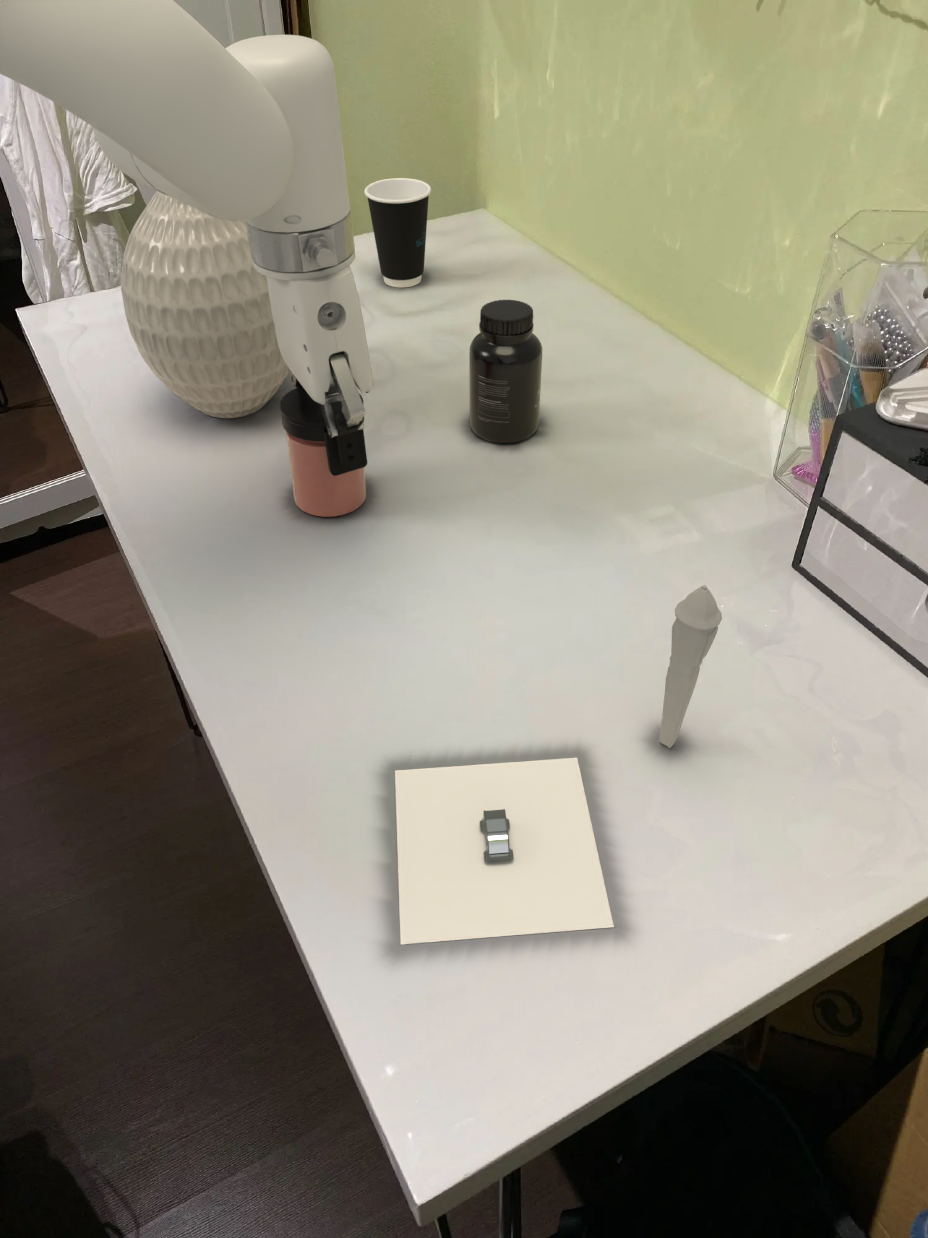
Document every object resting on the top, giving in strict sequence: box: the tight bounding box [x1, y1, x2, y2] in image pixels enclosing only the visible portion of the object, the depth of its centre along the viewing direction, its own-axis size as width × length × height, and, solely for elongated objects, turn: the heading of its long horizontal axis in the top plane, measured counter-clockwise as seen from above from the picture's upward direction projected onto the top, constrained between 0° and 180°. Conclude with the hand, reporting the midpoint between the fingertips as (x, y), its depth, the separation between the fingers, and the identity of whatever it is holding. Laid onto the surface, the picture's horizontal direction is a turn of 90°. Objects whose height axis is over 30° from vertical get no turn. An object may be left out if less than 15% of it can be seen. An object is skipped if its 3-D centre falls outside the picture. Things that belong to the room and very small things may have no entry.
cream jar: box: [285, 430, 367, 518], centre depth 78 cm, size 6×6×8 cm
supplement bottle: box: [468, 299, 543, 444], centre depth 85 cm, size 7×7×12 cm
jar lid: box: [279, 386, 365, 442], centre depth 75 cm, size 7×7×2 cm
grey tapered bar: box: [659, 585, 723, 749], centre depth 56 cm, size 2×3×14 cm
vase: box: [120, 190, 290, 419], centre depth 86 cm, size 16×16×22 cm
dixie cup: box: [364, 177, 432, 289], centre depth 112 cm, size 8×8×11 cm
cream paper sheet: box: [394, 757, 615, 945], centre depth 55 cm, size 12×12×2 cm
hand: (332, 446), depth 78 cm, fingers closed on jar lid, 6 cm apart
